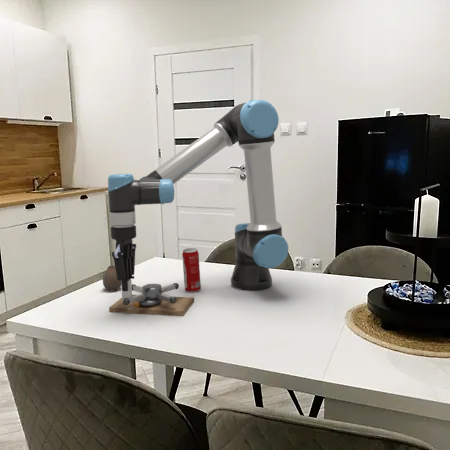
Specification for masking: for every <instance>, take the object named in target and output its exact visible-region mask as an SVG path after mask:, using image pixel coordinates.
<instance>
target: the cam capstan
mask: <svg viewBox="0 0 450 450" xmlns="http://www.w3.org/2000/svg"><path fill="white" fill-rule="evenodd" d="M179 287H180V285H179V283H178V282H174V283H172V284H169V285H165V286H162V285H161V284H159V283H149V284H144V285H143V286H140V285H136V284H135V283H132V292H137V293H139V294H135V295H136V296H133V297H129V298H124V299H123V304H124V305H128V304H130V303H133V302H135V303H134V307H139V306H142V307H151V306H156V305H159V304H160V303H161V302H162V300H164V301H168V302H170V303H172V304H174V303H176V301H177V299H176V297H177V296H175V295H174V296H173V295H170V294H165V293H168V292H171V291H173V290H178V289H179Z"/></svg>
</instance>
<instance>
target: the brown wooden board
mask: <svg viewBox="0 0 450 450" xmlns="http://www.w3.org/2000/svg"><path fill="white" fill-rule="evenodd" d="M136 295H137V294H132V297H133V296H136ZM175 297H176V299H177V301H176V303H174V304H172V303H170V302H168V301H164V300H162V302H161V303H160V304H159V305H156V306H151V307H142V306H139V307H134V303H135V302H133V303H130V304H128V305H124V304H123V301H122V297H121V298H119V299H118V300H116V301H115V302H114V303H113V304H111V305H110V306H109V307H108V310H109V311H108V312H109V313H121V314H135V315H137V314H138V315H139V314H140V315H154V316H155V315H157V316H170V317H171V316H174V317H184V316H185V314H186V313H187V312H188V311H189V310H190V308H191V307H192V306H193V304H195V297H190V296H189V297H187V296H186V297H185V296H175Z"/></svg>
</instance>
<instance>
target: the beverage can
mask: <svg viewBox="0 0 450 450" xmlns="http://www.w3.org/2000/svg"><path fill="white" fill-rule="evenodd" d="M181 257H182V266H183V267H182V268H183V283H184V291H186V292H187V293H197V292H198V291H201V286H202V285H201V270H200V255H199V250H198V249H197V248H194V247H191V248H185V249H183V250H182V256H181Z"/></svg>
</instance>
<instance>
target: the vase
mask: <svg viewBox="0 0 450 450" xmlns="http://www.w3.org/2000/svg"><path fill="white" fill-rule="evenodd" d="M102 276H103V277H102V285H103V288H105V290H107V291H108V292H116V291H118V290H120V289H121V288H122V285H121V281H118V280H117V274H116V269H115V265H113V264H112V265H108V266H107V268H106V270H105V272H104V274H103V275H102Z"/></svg>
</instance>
